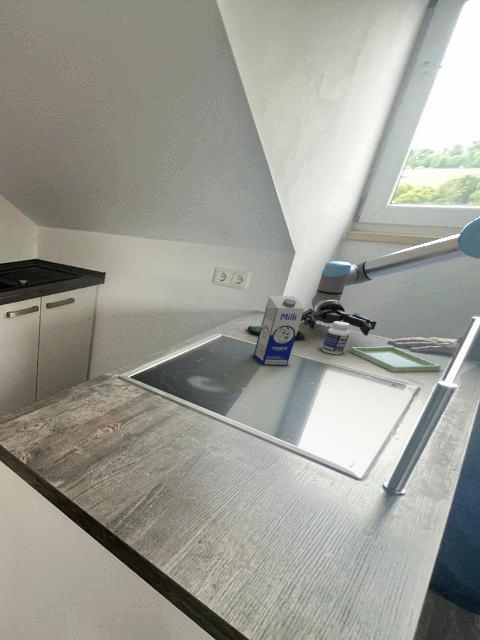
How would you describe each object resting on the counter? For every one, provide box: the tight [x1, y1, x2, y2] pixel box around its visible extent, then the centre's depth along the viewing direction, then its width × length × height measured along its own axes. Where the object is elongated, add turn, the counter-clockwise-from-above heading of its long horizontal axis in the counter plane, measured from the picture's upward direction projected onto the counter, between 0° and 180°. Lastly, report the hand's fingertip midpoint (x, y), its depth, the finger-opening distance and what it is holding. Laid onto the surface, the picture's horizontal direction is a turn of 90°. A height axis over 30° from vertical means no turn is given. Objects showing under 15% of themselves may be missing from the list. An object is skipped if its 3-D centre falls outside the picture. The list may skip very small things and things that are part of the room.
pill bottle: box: [321, 321, 351, 355], centre depth 124 cm, size 5×5×10 cm
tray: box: [349, 345, 442, 373], centre depth 119 cm, size 15×13×2 cm
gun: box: [247, 325, 305, 341], centre depth 141 cm, size 16×2×10 cm
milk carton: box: [253, 295, 305, 366], centre depth 117 cm, size 7×7×20 cm
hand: (339, 328), depth 124 cm, fingers open, 13 cm apart
